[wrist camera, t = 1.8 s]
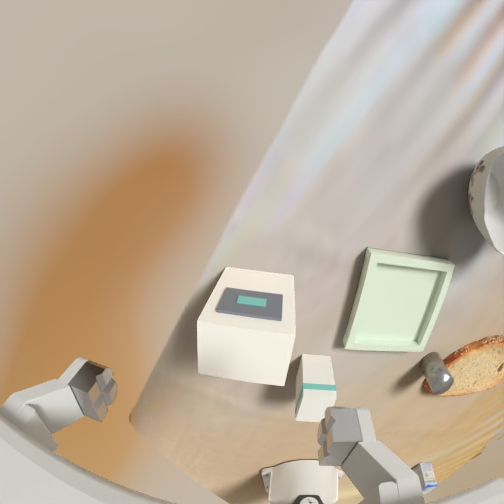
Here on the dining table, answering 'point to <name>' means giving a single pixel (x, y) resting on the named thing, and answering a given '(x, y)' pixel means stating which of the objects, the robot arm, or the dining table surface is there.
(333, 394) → the teal band cartridge
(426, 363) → the cylinder
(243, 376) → the cream tall block
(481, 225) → the teacup
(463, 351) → the bread slice
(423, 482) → the medicine box
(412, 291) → the tray
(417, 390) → the dining table surface
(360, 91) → the dining table surface
